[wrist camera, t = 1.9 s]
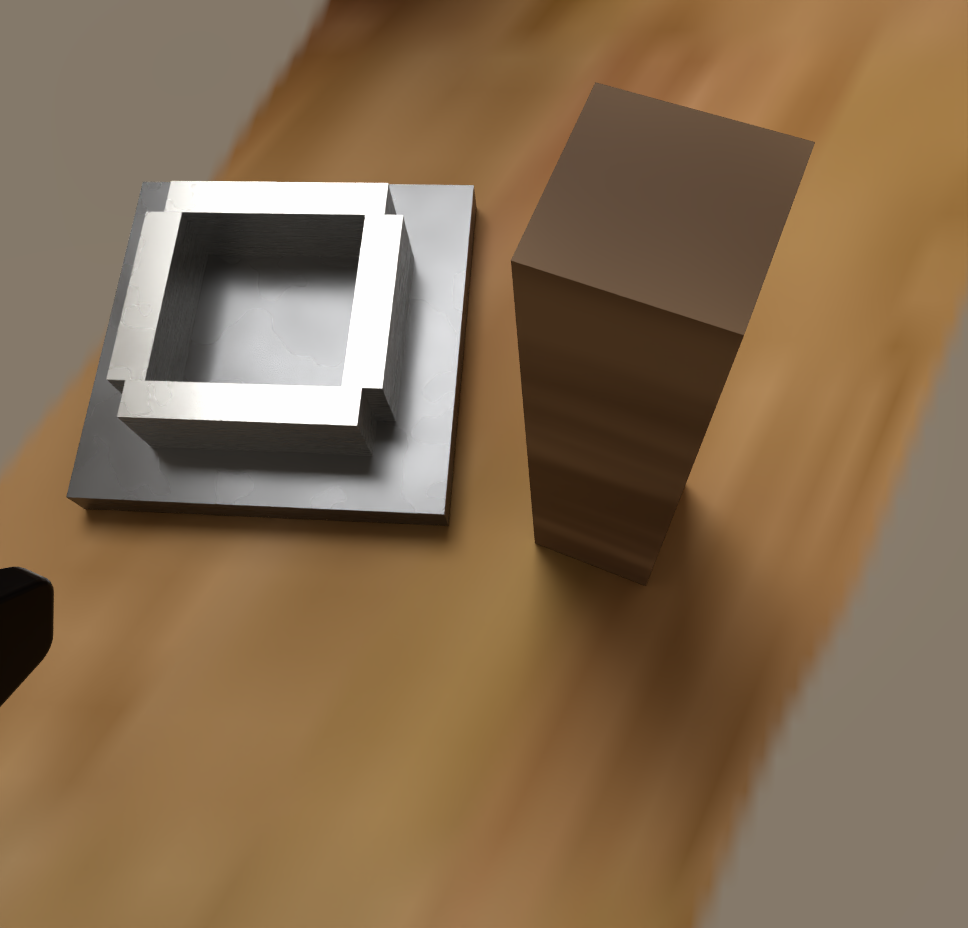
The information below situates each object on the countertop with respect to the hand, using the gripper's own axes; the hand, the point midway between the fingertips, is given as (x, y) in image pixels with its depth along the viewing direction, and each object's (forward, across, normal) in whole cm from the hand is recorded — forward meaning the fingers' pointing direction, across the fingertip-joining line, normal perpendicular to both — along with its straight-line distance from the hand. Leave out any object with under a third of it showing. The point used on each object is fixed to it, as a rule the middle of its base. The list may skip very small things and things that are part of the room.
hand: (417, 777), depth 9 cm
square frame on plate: (+16, +10, +3) cm, 19 cm away
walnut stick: (+15, 0, +4) cm, 15 cm away
